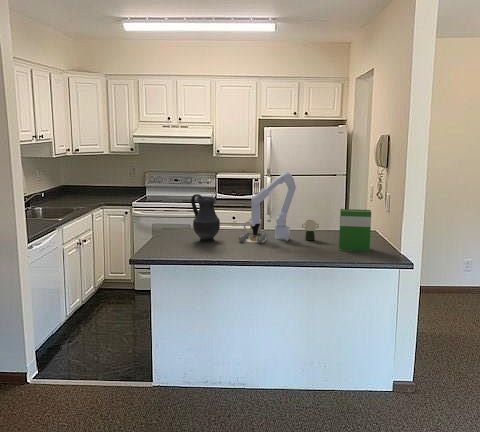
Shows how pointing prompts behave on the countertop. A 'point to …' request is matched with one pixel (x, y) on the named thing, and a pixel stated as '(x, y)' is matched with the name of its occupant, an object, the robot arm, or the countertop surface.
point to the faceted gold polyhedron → (253, 238)
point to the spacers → (246, 236)
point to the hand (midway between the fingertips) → (255, 235)
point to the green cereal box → (355, 229)
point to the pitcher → (205, 218)
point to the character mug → (310, 229)
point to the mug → (251, 227)
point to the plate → (252, 241)
